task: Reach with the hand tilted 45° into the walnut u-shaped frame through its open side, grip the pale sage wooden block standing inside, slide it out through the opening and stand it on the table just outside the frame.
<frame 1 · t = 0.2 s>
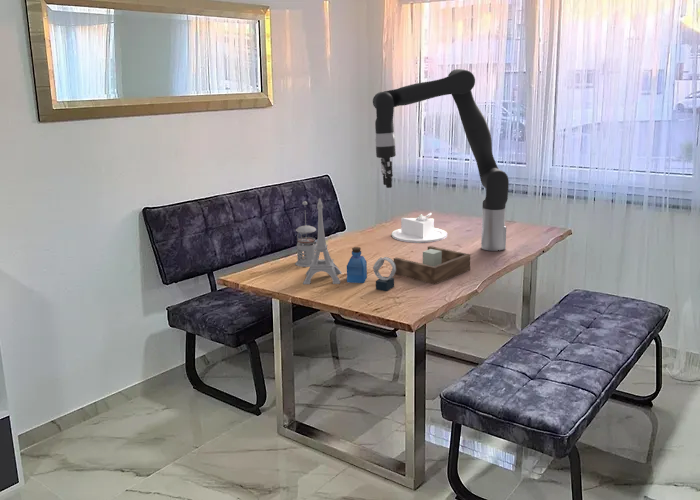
hand: (387, 186, 266), 29 cm above the table, tool pointing down, fingers open, 8 cm apart
eiffel tower: (322, 279, 249), on the table
french press: (306, 263, 268), on the table
sage block: (432, 261, 252), in the walnut u-shaped frame
perfume bottle: (357, 280, 246), on the table
dish: (419, 236, 305), on the table
watch: (384, 288, 237), on the table
walnut u-shaped frame: (432, 271, 253), on the table
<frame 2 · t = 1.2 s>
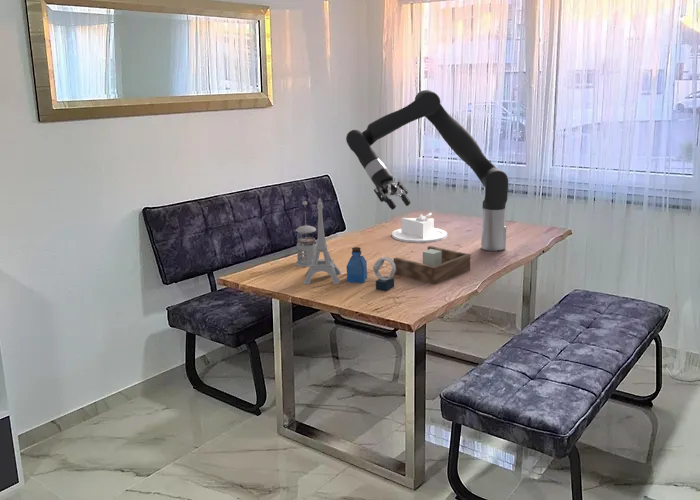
hand: (401, 206, 256), 23 cm above the table, tool tilted 45°, fingers open, 8 cm apart
nothing on the table moved.
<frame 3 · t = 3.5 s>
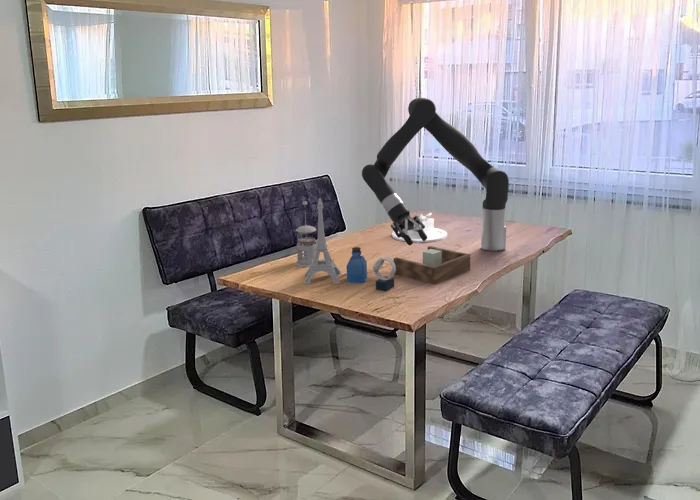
hand: (418, 241, 254), 10 cm above the table, tool tilted 45°, fingers open, 8 cm apart
nothing on the table moved.
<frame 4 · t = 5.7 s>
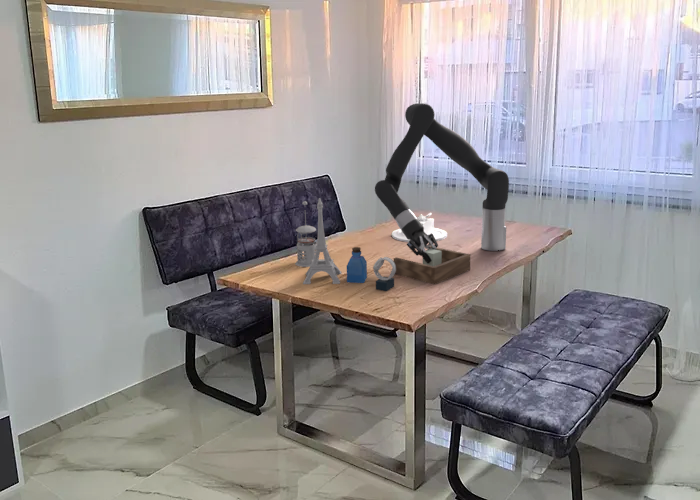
hand: (434, 260, 251), 5 cm above the table, tool tilted 45°, fingers closed on sage block, 5 cm apart
sage block: (432, 261, 252), in the walnut u-shaped frame, touching gripper
everything else where it was.
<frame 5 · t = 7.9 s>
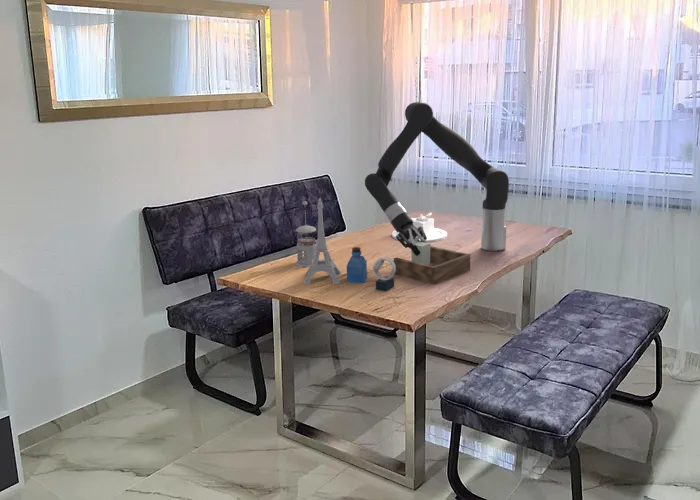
hand: (423, 252, 254), 7 cm above the table, tool tilted 45°, fingers closed on sage block, 5 cm apart
sage block: (420, 254, 255), point 6 cm above the table, touching gripper
everything else where it was.
when the fingers open (6 cm above the table, at t = 10.4 s): sage block stays where it is, on the table.
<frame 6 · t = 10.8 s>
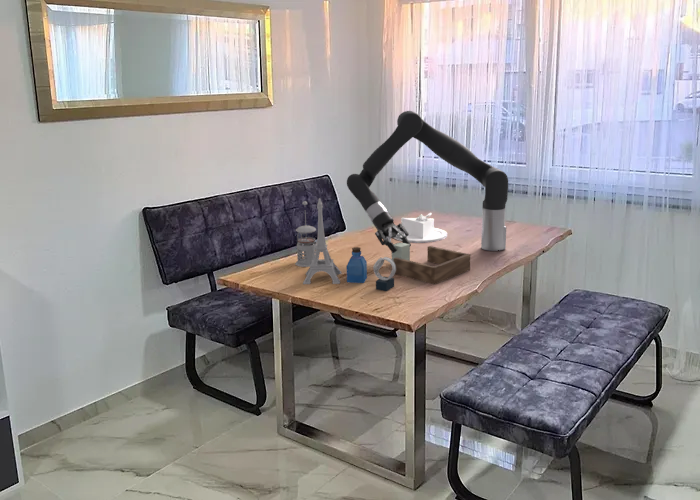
hand: (402, 249, 261), 6 cm above the table, tool tilted 45°, fingers open, 8 cm apart
sage block: (400, 254, 262), on the table
everything else where it was.
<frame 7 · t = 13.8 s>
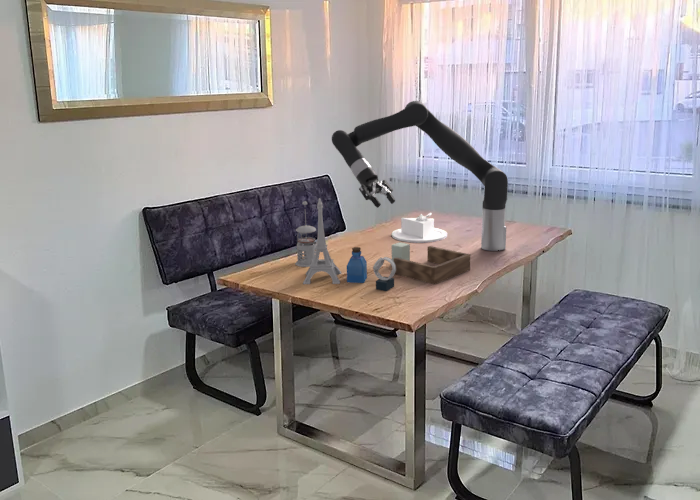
hand: (386, 204, 262), 23 cm above the table, tool tilted 45°, fingers open, 8 cm apart
nothing on the table moved.
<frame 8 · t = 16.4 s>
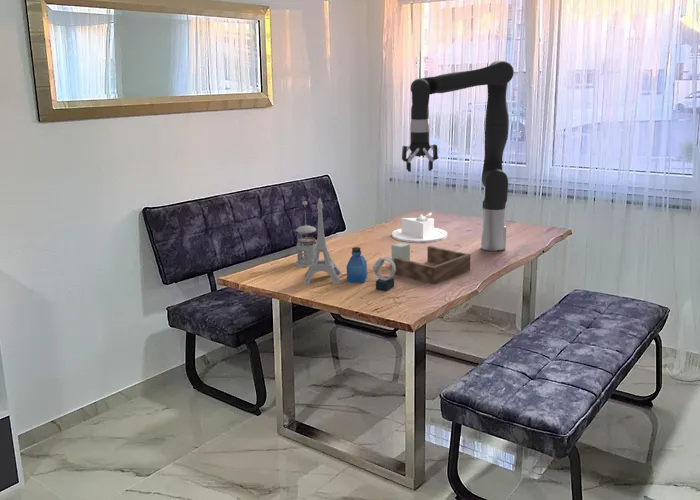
hand: (419, 171, 273), 33 cm above the table, tool pointing down, fingers open, 8 cm apart
nothing on the table moved.
at the end: sage block moved 15.2 cm from its start; sage block tilted 0°; the gripper is holding nothing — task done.
